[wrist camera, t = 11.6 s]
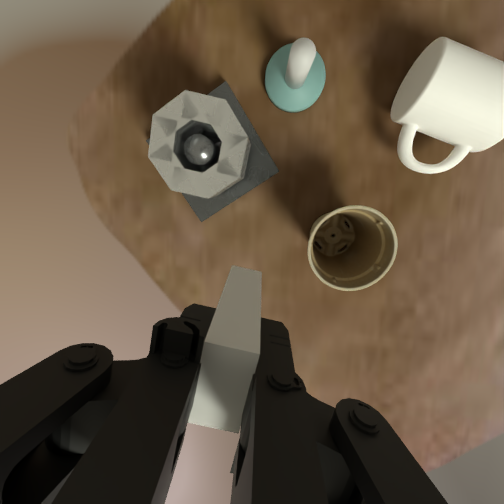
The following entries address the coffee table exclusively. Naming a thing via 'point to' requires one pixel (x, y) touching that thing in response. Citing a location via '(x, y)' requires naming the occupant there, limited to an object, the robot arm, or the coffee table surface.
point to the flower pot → (352, 247)
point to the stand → (295, 76)
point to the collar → (187, 124)
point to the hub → (207, 154)
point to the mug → (450, 102)
